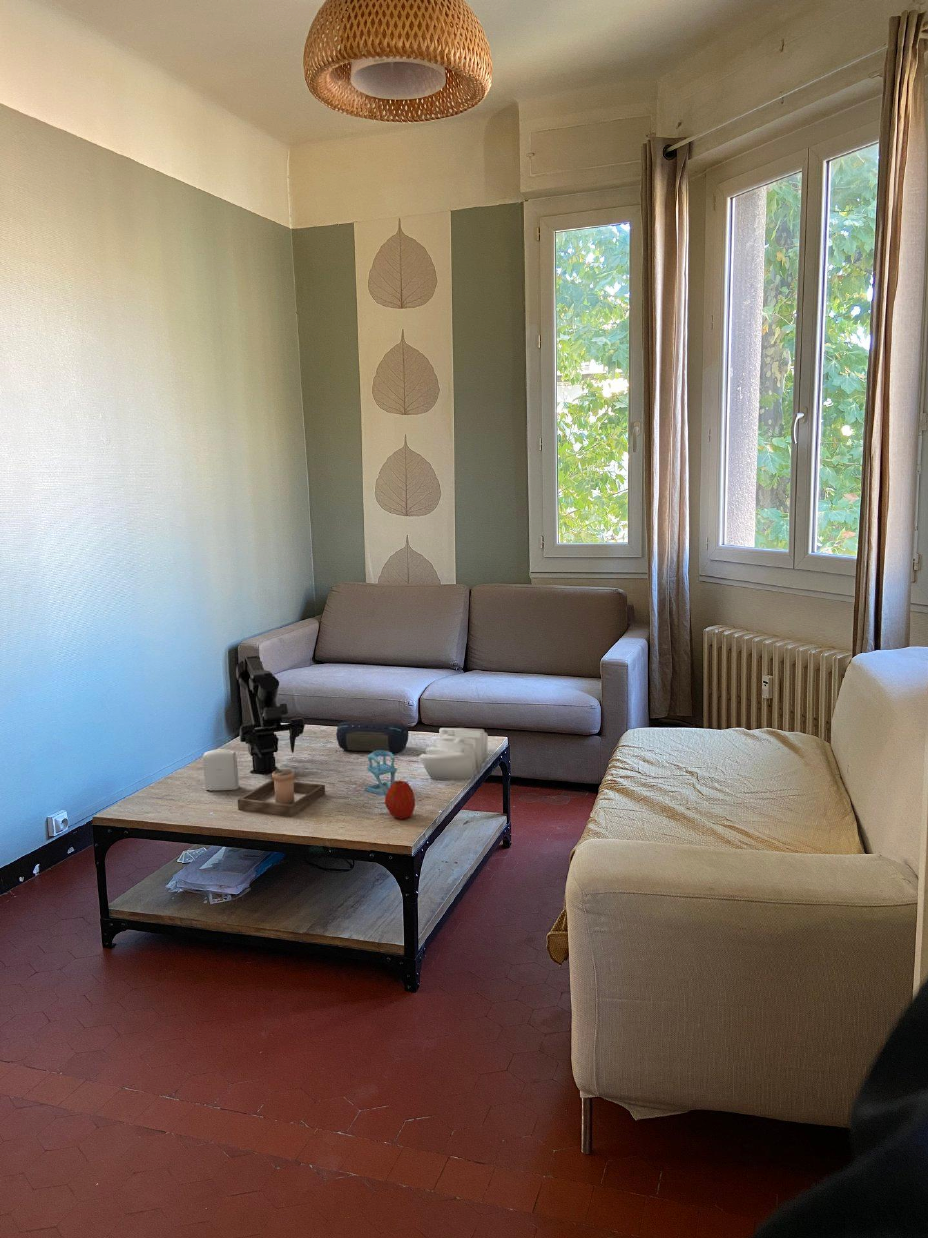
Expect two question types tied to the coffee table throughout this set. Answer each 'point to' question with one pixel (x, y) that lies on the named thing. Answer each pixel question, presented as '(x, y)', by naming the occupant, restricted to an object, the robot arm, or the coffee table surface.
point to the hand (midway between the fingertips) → (277, 754)
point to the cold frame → (252, 804)
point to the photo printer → (220, 770)
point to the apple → (400, 800)
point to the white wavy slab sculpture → (456, 754)
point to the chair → (381, 771)
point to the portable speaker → (372, 736)
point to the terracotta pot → (284, 786)
